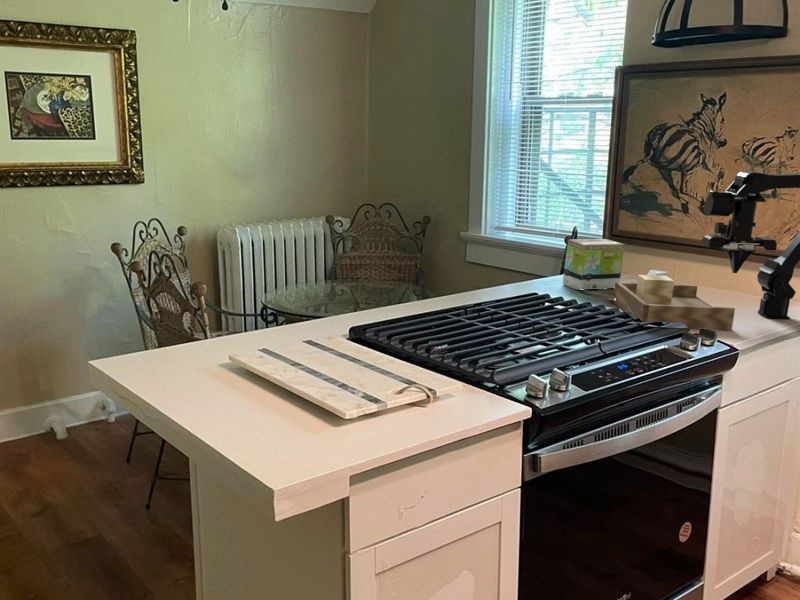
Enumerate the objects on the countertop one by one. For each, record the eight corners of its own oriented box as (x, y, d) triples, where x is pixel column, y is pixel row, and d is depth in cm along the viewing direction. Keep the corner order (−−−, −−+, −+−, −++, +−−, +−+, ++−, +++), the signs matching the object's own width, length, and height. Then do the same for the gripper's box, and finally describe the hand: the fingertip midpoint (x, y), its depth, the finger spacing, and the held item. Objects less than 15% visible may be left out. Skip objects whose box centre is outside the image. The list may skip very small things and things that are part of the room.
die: (673, 299, 239) (659, 269, 242) (681, 291, 231) (667, 260, 234) (647, 308, 239) (634, 278, 242) (654, 300, 231) (640, 270, 233)
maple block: (663, 301, 219) (666, 275, 218) (670, 307, 214) (674, 280, 212) (635, 300, 219) (638, 274, 217) (641, 306, 213) (645, 279, 212)
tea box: (581, 292, 240) (586, 244, 236) (561, 284, 249) (566, 238, 245) (620, 289, 246) (625, 243, 243) (599, 282, 255) (604, 237, 251)
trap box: (693, 305, 230) (695, 285, 229) (731, 330, 205) (735, 308, 203) (613, 301, 229) (615, 281, 228) (641, 327, 204) (644, 305, 202)
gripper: (762, 214, 223) (754, 268, 227) (698, 211, 222) (690, 265, 226) (782, 220, 212) (772, 276, 216) (714, 217, 211) (705, 273, 215)
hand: (734, 272), depth 218 cm, fingers closed
